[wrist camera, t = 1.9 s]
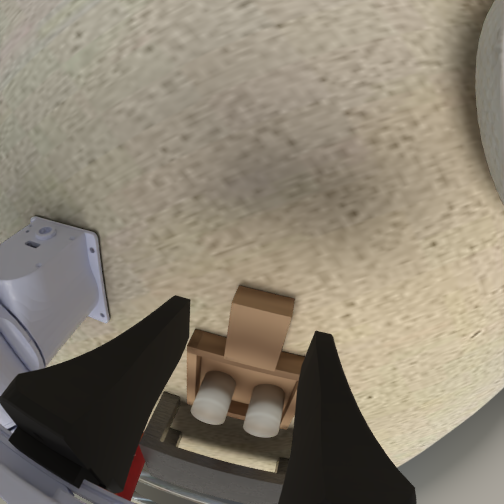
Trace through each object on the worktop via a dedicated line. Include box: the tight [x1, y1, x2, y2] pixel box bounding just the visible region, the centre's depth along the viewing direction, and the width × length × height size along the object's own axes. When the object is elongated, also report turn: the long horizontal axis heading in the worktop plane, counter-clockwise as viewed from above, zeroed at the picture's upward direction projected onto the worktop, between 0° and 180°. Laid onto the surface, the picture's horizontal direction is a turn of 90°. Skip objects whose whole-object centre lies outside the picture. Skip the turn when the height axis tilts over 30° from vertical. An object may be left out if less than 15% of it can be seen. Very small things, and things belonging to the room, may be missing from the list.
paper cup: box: [91, 433, 145, 504], centre depth 35 cm, size 8×8×14 cm
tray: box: [187, 286, 305, 438], centre depth 24 cm, size 14×10×4 cm
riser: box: [139, 392, 289, 504], centre depth 31 cm, size 11×17×7 cm, turn 82°
